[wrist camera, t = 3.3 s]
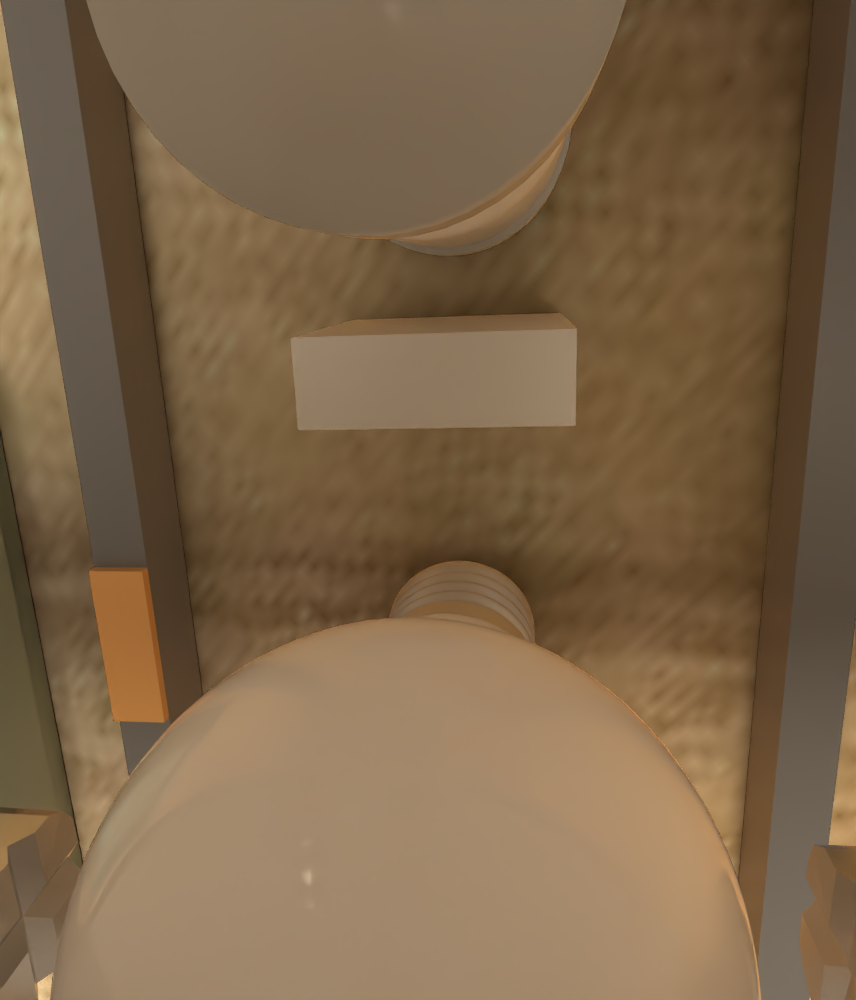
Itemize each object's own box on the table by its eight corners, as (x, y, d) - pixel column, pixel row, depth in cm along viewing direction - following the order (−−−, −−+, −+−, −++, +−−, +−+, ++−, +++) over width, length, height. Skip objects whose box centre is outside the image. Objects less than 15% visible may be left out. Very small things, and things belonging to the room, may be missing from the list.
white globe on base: (328, 12, 13) (26, -397, 5) (570, -8, 12) (654, -492, 4) (344, 260, 14) (117, 244, 6) (567, 251, 13) (631, 220, 5)
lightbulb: (701, 640, 15) (1151, 1550, 4) (446, 809, 16) (315, 1764, 6) (484, 381, 14) (373, 723, 3) (238, 588, 16) (-350, 1248, 5)
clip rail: (30, -153, 12) (-189, -343, 8) (910, -250, 11) (1125, -538, 7) (215, 1092, 19) (142, 1292, 16) (761, 1139, 18) (827, 1374, 14)
